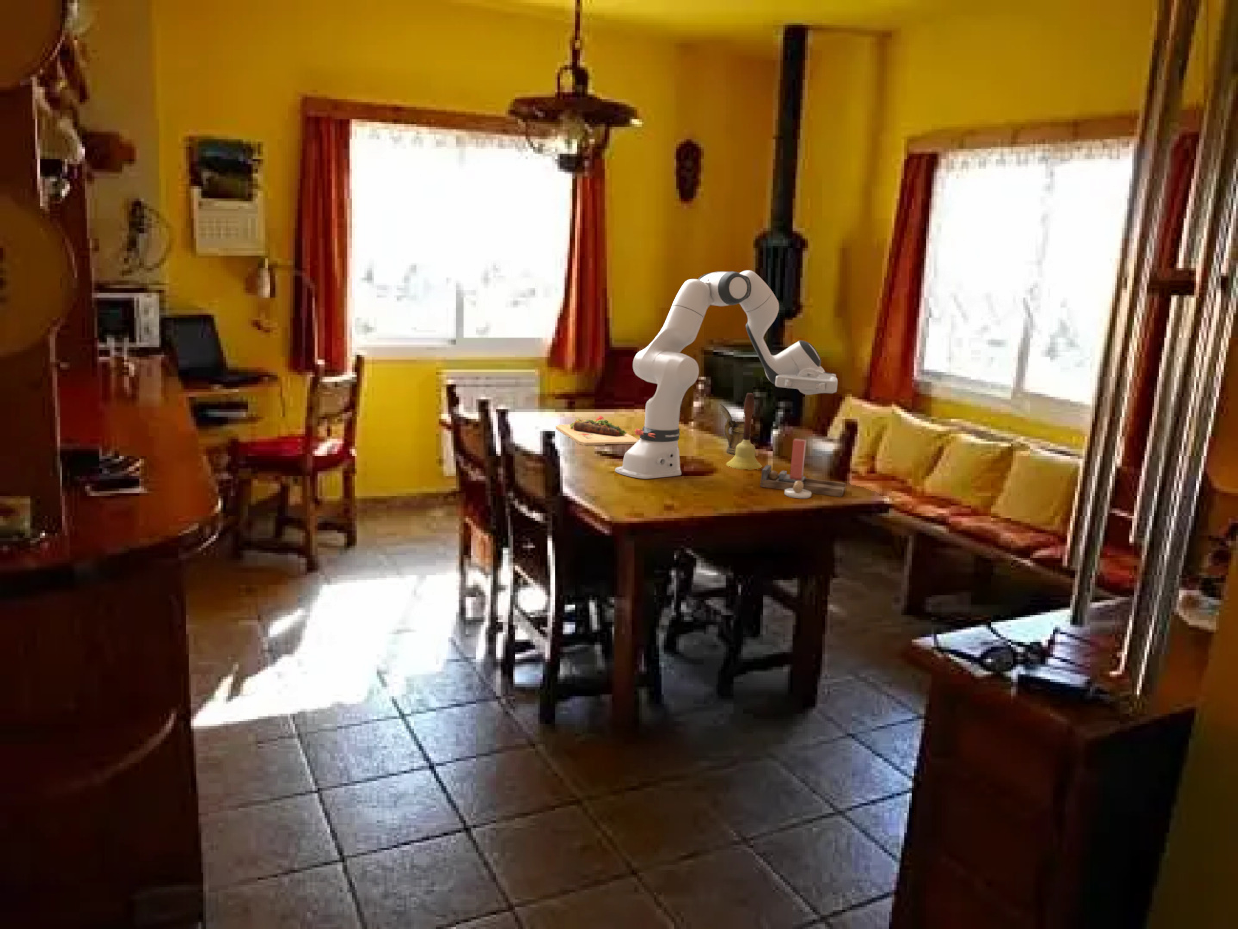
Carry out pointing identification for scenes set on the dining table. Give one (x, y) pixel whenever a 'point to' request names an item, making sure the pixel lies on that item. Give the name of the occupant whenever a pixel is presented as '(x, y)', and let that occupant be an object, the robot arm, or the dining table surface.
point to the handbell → (746, 441)
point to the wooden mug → (736, 431)
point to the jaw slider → (795, 463)
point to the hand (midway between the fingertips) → (803, 385)
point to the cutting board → (596, 432)
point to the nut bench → (813, 485)
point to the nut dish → (797, 495)
